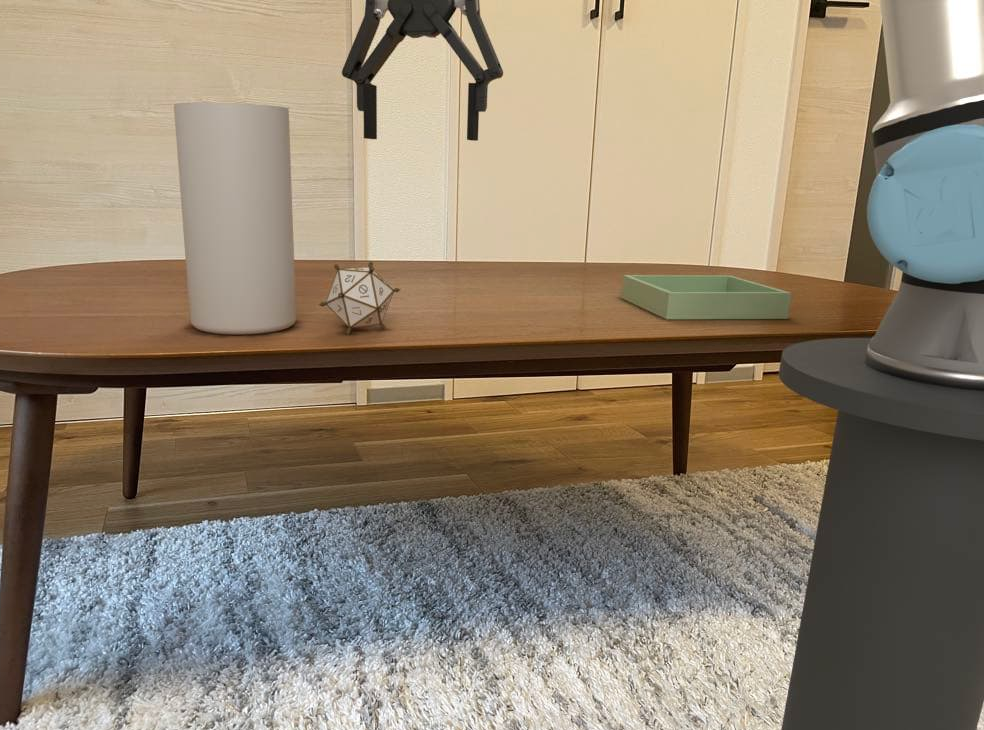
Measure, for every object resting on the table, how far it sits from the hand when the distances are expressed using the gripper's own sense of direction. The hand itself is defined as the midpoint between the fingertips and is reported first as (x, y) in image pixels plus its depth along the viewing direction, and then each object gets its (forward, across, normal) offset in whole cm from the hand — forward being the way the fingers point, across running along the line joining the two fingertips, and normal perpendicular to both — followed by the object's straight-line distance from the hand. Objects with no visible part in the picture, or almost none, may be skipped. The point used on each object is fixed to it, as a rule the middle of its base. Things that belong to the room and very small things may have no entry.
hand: (420, 139), depth 98 cm
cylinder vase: (+22, +17, +16) cm, 33 cm away
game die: (+22, +3, +13) cm, 26 cm away
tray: (+22, -37, -20) cm, 48 cm away
